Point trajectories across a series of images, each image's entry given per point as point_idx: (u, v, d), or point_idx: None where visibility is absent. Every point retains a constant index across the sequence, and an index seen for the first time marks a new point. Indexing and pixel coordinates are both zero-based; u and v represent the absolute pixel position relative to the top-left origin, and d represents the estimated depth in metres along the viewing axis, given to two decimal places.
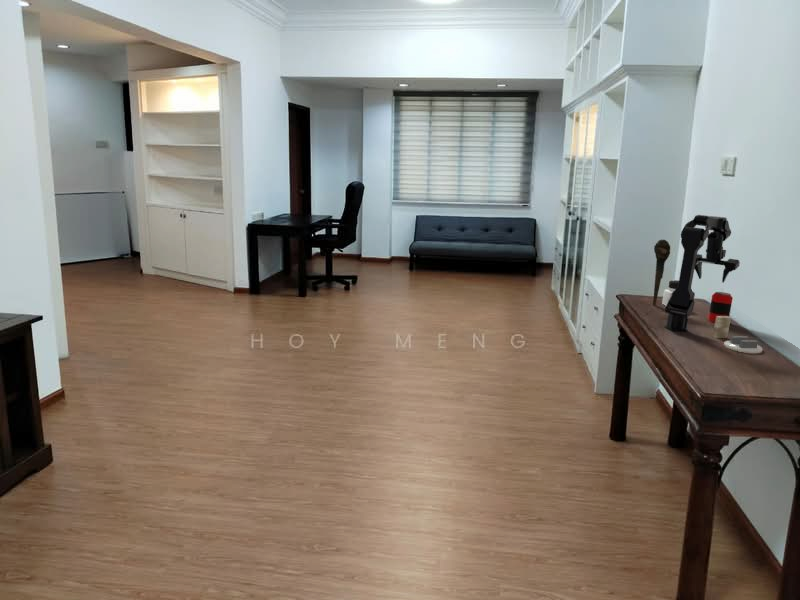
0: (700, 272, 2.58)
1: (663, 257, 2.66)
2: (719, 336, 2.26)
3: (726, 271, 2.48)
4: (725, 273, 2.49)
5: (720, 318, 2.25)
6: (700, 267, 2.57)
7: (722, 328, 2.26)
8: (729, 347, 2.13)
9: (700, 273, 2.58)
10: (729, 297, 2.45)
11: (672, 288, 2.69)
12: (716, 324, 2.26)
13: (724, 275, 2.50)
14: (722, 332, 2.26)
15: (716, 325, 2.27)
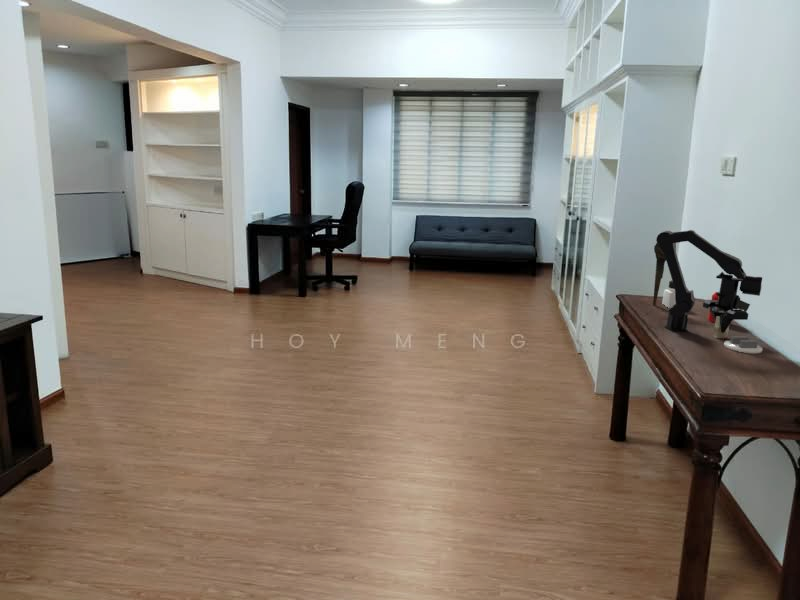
0: None
1: (663, 257, 2.66)
2: (719, 336, 2.26)
3: (721, 317, 2.23)
4: (721, 320, 2.23)
5: None
6: None
7: None
8: (729, 347, 2.13)
9: None
10: None
11: (672, 288, 2.69)
12: (716, 324, 2.26)
13: (721, 322, 2.24)
14: None
15: (716, 325, 2.27)
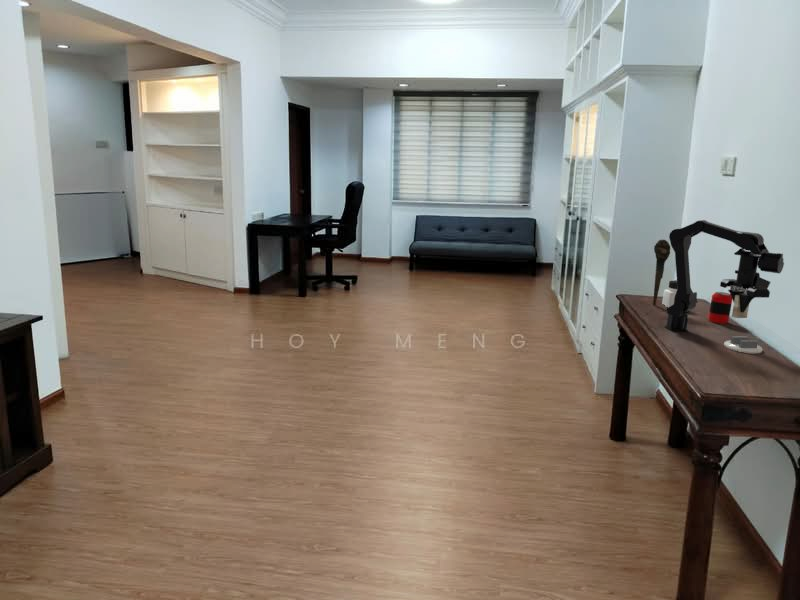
0: None
1: (663, 257, 2.66)
2: (738, 316, 2.16)
3: (741, 296, 2.13)
4: (740, 298, 2.13)
5: None
6: None
7: None
8: (729, 347, 2.13)
9: None
10: (729, 297, 2.45)
11: (672, 288, 2.69)
12: (735, 303, 2.16)
13: (740, 301, 2.14)
14: (742, 312, 2.16)
15: (735, 304, 2.17)
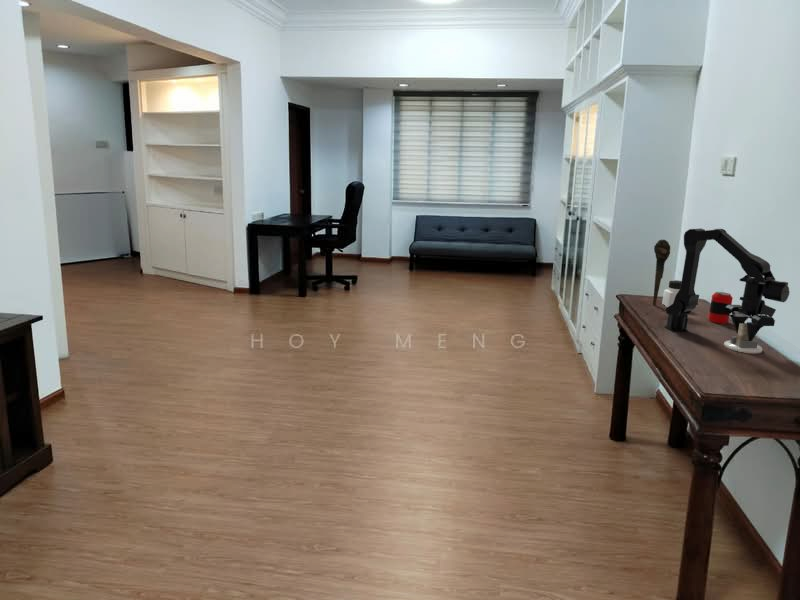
0: None
1: (663, 257, 2.66)
2: None
3: (749, 324, 2.08)
4: (748, 327, 2.09)
5: (744, 325, 2.12)
6: (741, 322, 2.16)
7: (746, 336, 2.13)
8: (729, 347, 2.13)
9: None
10: (729, 297, 2.45)
11: (672, 288, 2.69)
12: (739, 332, 2.14)
13: (748, 330, 2.09)
14: None
15: (739, 333, 2.14)
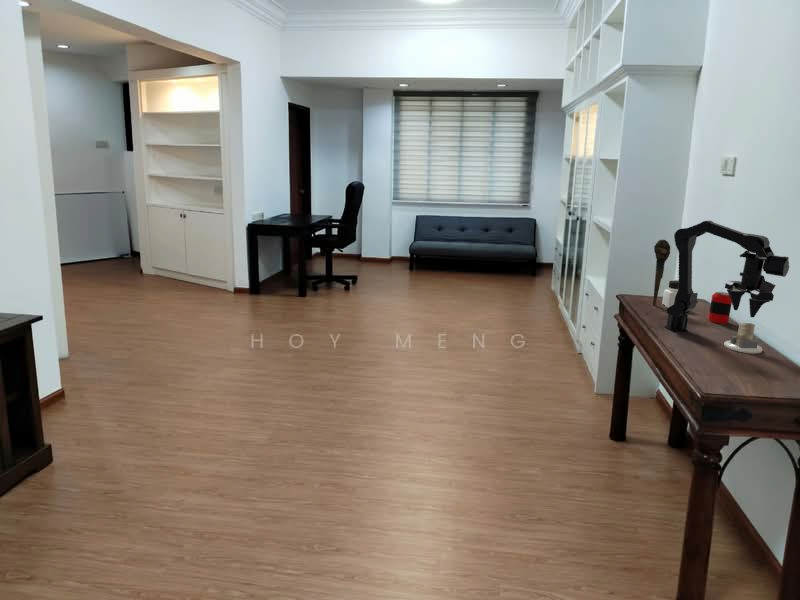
0: (736, 302, 2.20)
1: (663, 257, 2.66)
2: None
3: (751, 301, 2.09)
4: (751, 303, 2.09)
5: (744, 325, 2.12)
6: (738, 296, 2.20)
7: (746, 336, 2.13)
8: (729, 347, 2.13)
9: (736, 303, 2.20)
10: (729, 297, 2.45)
11: (672, 288, 2.69)
12: (739, 332, 2.14)
13: (750, 306, 2.10)
14: None
15: (739, 333, 2.14)
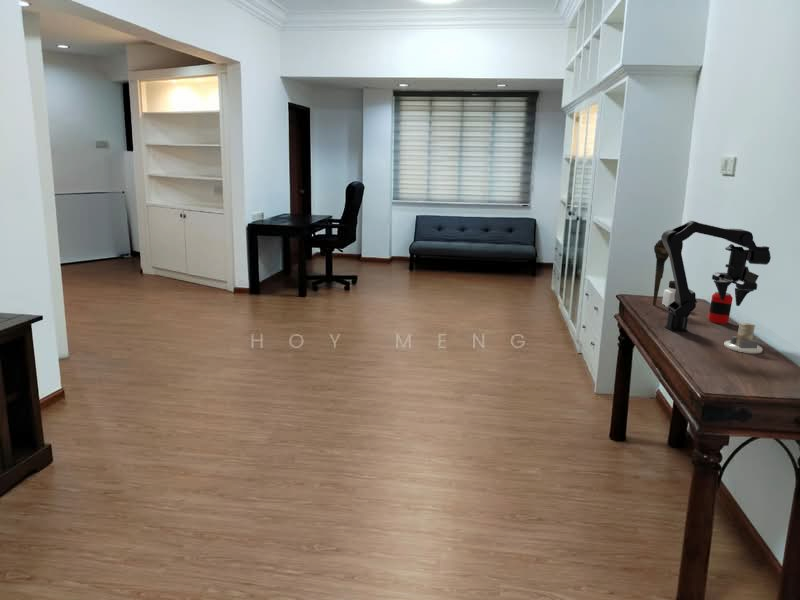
0: (723, 292, 2.35)
1: (663, 257, 2.66)
2: None
3: (736, 290, 2.23)
4: (736, 293, 2.24)
5: (744, 325, 2.12)
6: (724, 287, 2.35)
7: (746, 336, 2.13)
8: (729, 347, 2.13)
9: (722, 293, 2.35)
10: (729, 297, 2.45)
11: (672, 288, 2.69)
12: (739, 332, 2.14)
13: (736, 295, 2.25)
14: None
15: (739, 333, 2.14)
